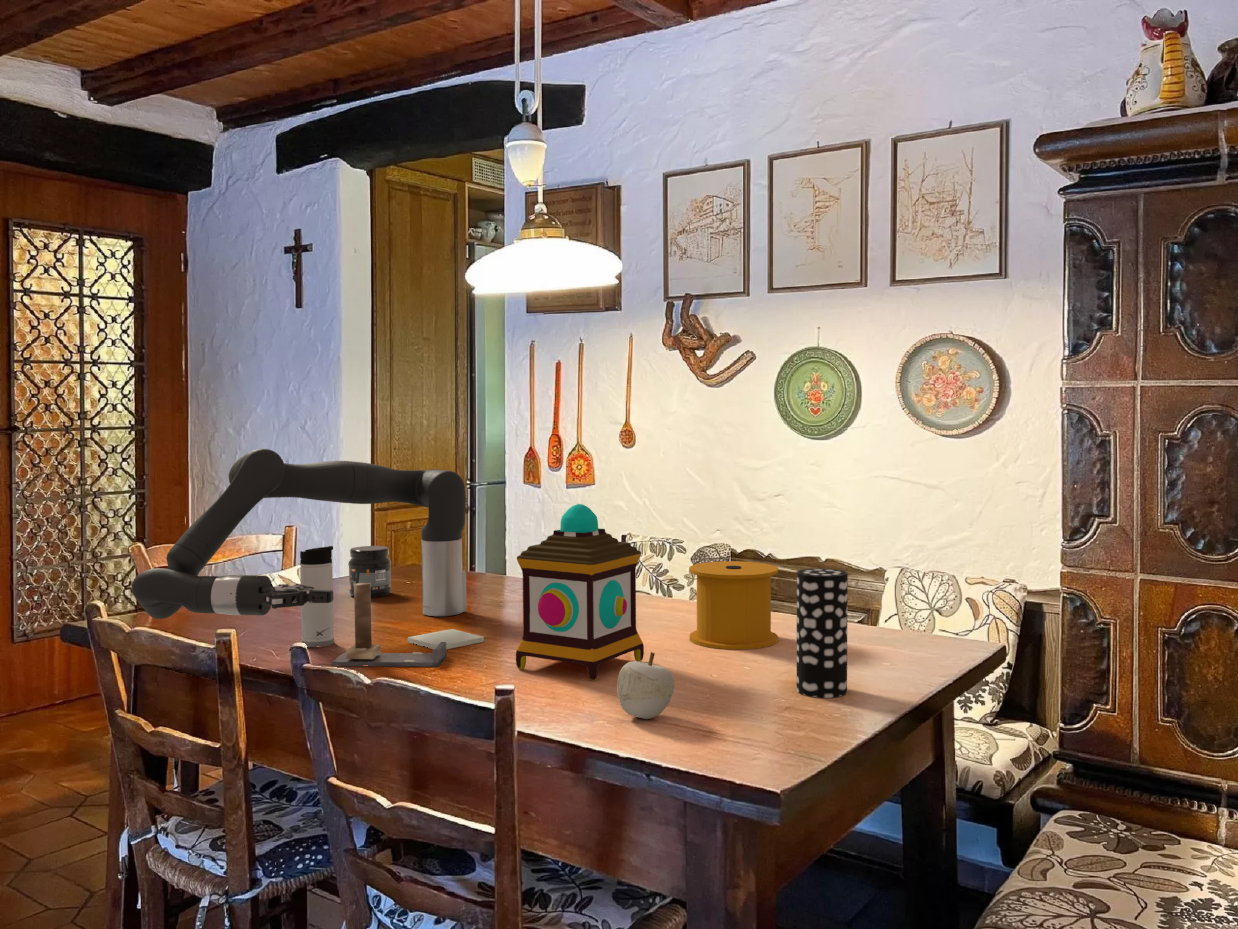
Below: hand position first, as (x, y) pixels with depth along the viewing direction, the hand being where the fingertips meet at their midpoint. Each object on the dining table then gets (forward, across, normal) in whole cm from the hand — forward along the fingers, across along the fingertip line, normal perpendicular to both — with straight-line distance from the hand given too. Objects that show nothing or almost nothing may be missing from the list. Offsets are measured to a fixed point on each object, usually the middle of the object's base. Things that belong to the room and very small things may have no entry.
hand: (332, 596), depth 197 cm
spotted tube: (+89, -17, +12) cm, 92 cm away
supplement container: (-13, +69, +12) cm, 71 cm away
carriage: (+6, 0, +11) cm, 13 cm away
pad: (+18, +17, +12) cm, 27 cm away
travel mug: (-8, +14, +12) cm, 20 cm away
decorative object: (+60, -33, +12) cm, 70 cm away
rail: (+11, 0, +12) cm, 16 cm away
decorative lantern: (+47, -1, +12) cm, 49 cm away
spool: (+76, +21, +11) cm, 80 cm away
